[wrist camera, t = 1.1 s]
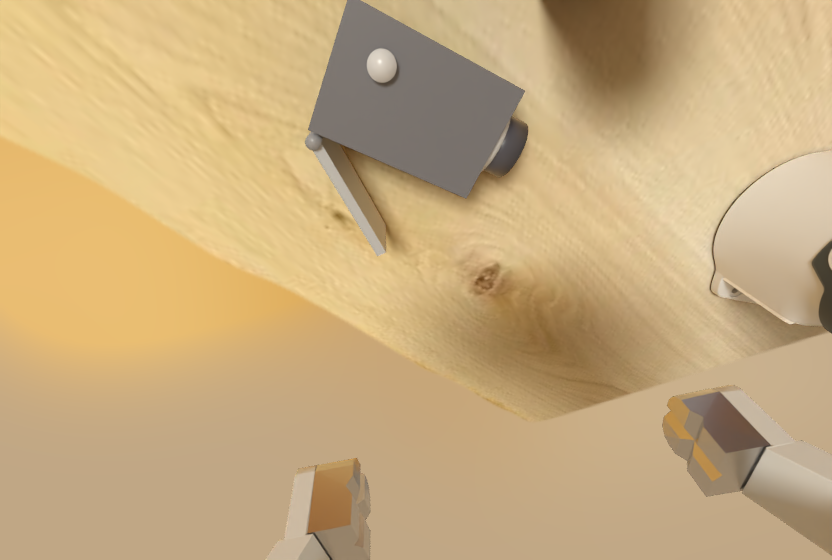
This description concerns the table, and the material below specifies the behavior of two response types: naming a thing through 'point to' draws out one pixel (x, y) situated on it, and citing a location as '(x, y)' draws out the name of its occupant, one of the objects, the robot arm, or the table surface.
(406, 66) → the camera body
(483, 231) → the table surface
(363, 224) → the side door
